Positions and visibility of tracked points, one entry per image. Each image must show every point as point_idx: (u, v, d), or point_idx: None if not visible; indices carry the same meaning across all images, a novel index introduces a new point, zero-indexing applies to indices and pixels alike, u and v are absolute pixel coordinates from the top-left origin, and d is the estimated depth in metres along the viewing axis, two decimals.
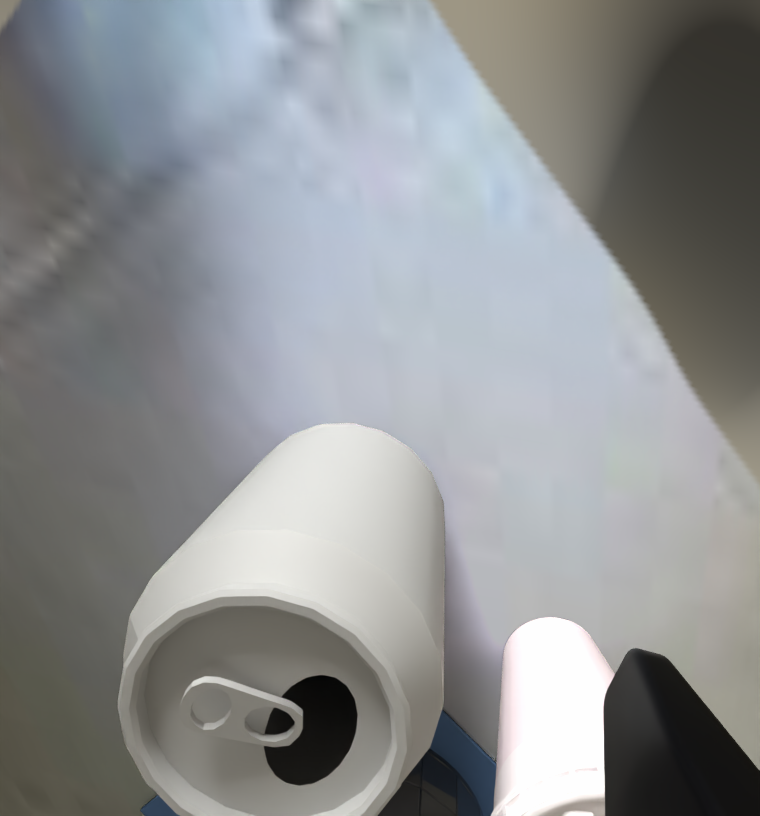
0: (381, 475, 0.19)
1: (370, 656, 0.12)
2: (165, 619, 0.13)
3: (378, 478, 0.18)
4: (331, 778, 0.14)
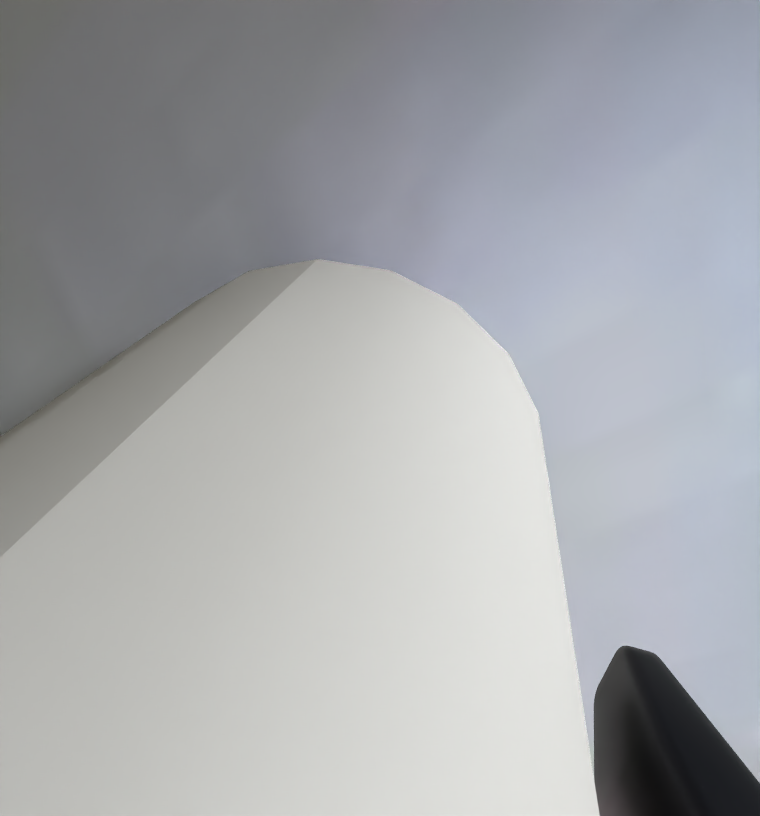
0: None
1: None
2: None
3: None
4: None
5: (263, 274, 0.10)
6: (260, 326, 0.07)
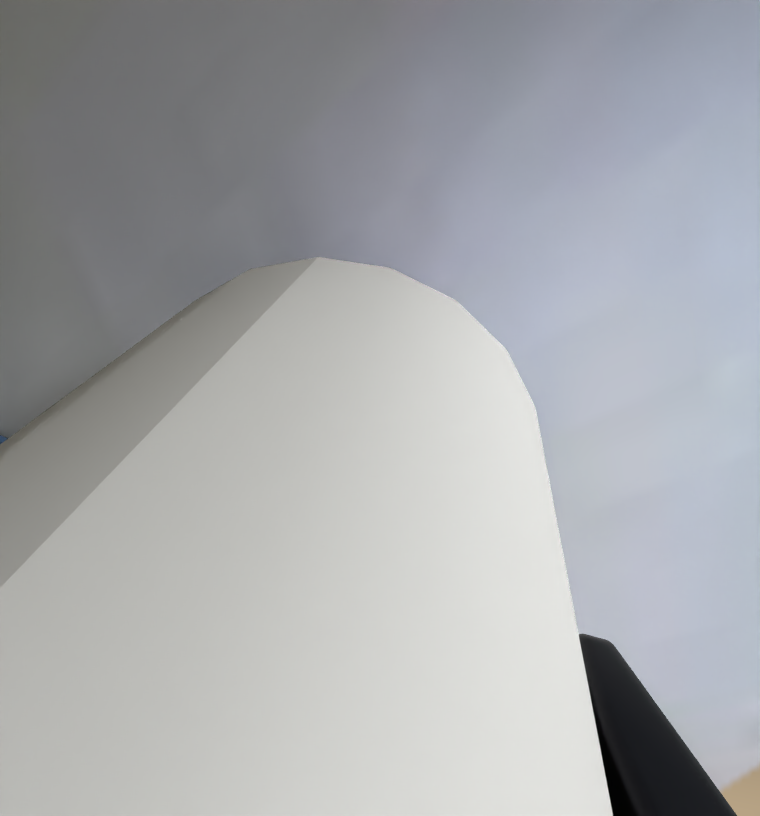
0: None
1: None
2: None
3: None
4: None
5: (265, 272, 0.10)
6: (268, 322, 0.07)
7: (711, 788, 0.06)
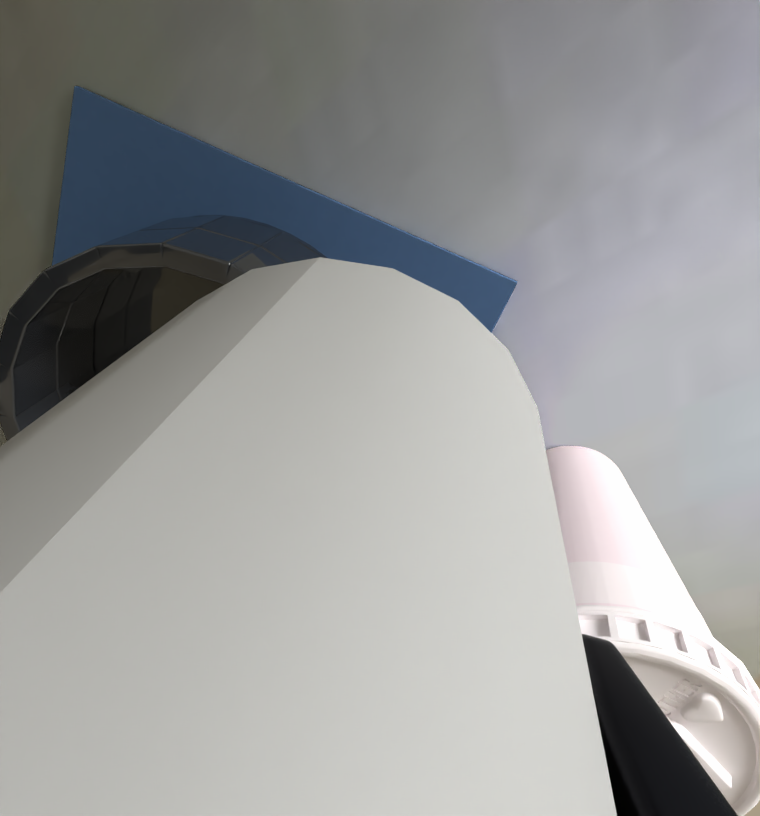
0: None
1: None
2: None
3: None
4: None
5: (266, 272, 0.10)
6: (271, 324, 0.07)
7: (712, 788, 0.06)
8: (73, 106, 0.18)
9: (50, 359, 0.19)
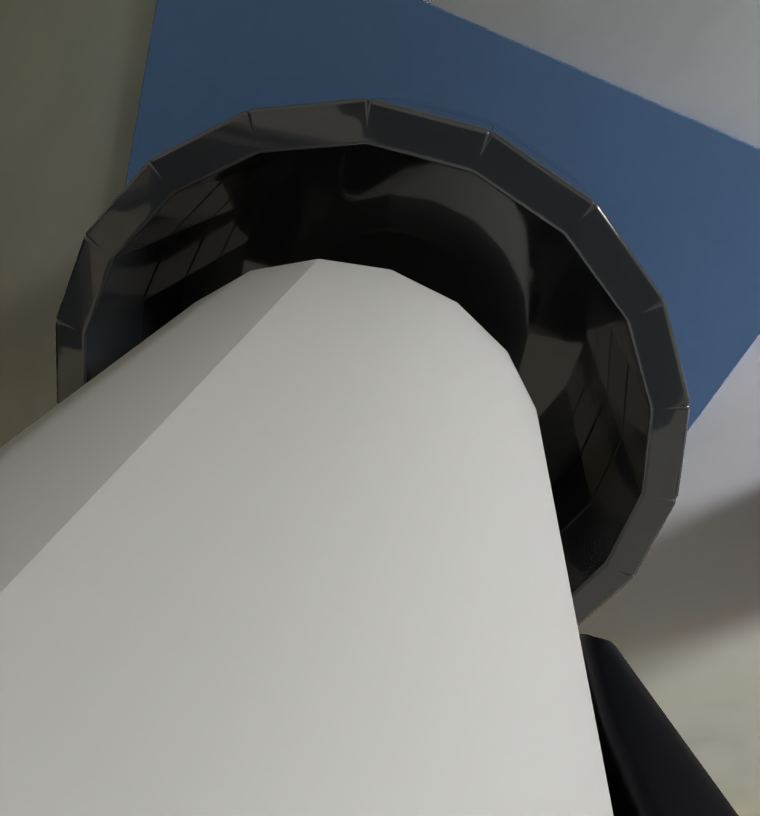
0: None
1: None
2: None
3: None
4: None
5: (265, 274, 0.10)
6: (269, 325, 0.07)
7: (712, 789, 0.06)
8: None
9: (133, 322, 0.13)
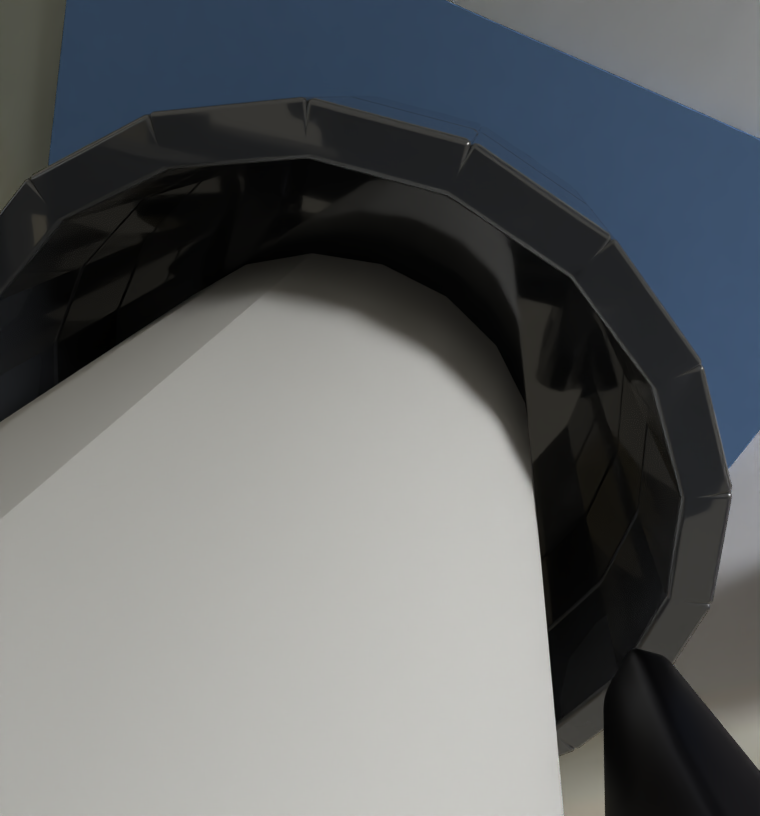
0: None
1: None
2: None
3: None
4: None
5: (259, 267, 0.10)
6: (253, 315, 0.07)
7: None
8: None
9: (44, 370, 0.11)
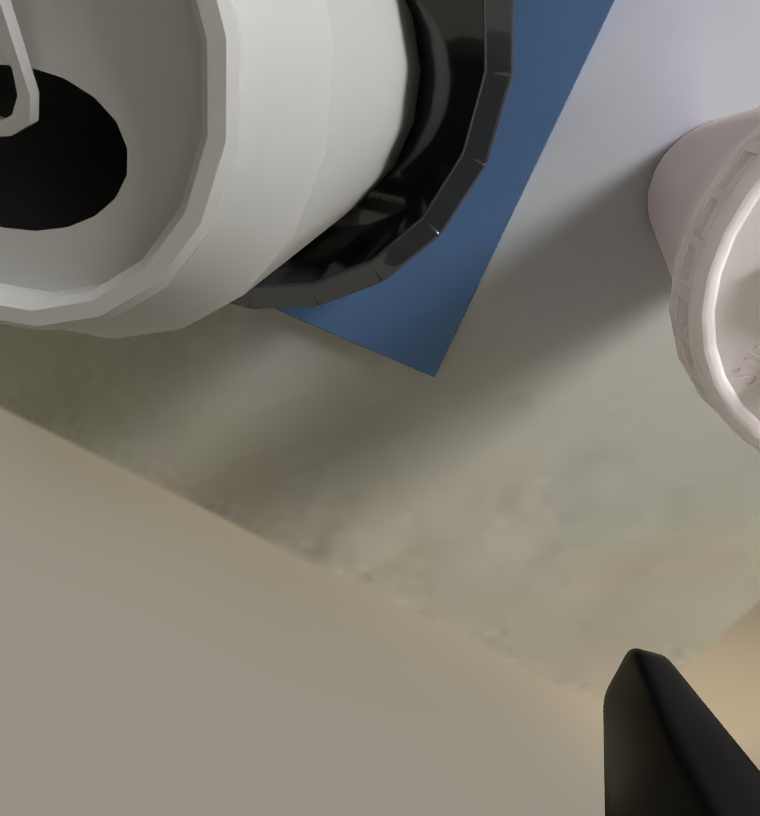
0: (393, 88, 0.12)
1: (205, 187, 0.07)
2: None
3: (391, 84, 0.12)
4: None
5: None
6: None
7: None
8: None
9: None
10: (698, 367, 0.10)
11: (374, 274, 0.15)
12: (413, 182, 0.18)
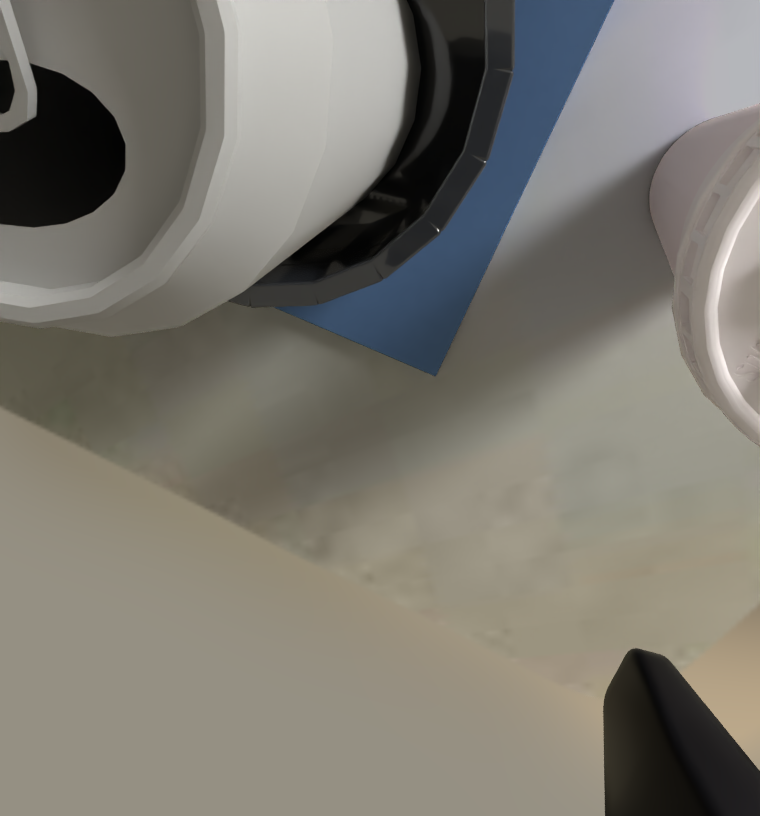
0: (394, 85, 0.12)
1: (203, 183, 0.07)
2: None
3: (391, 81, 0.12)
4: None
5: None
6: None
7: None
8: None
9: None
10: (701, 364, 0.10)
11: (374, 272, 0.15)
12: (414, 181, 0.18)
